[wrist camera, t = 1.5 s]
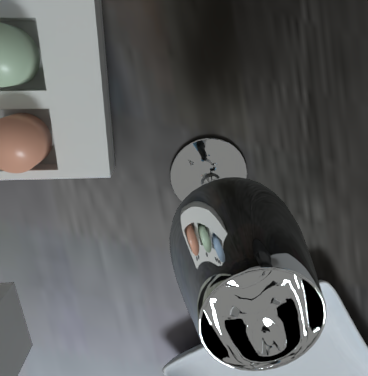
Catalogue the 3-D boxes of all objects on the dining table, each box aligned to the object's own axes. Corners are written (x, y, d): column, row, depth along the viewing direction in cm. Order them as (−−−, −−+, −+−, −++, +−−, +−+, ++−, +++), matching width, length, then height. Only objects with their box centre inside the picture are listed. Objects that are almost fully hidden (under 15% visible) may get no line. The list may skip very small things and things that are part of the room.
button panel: (-99, -89, 25) (-136, -111, 22) (93, -88, 25) (83, -108, 22) (-34, 170, 32) (-56, 182, 29) (115, 167, 32) (110, 178, 29)
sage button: (-24, 25, 25) (-46, 20, 23) (35, 24, 26) (20, 20, 23) (-12, 85, 27) (-31, 87, 24) (44, 84, 27) (30, 86, 24)
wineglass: (192, 121, 31) (229, 209, 12) (262, 158, 32) (393, 287, 14) (155, 191, 33) (139, 358, 14) (223, 223, 35) (287, 409, 16)
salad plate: (384, 373, 44) (401, 397, 41) (245, 440, 47) (250, 467, 44) (314, 259, 37) (328, 278, 34) (158, 346, 41) (157, 371, 37)
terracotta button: (-6, 113, 28) (-24, 118, 25) (48, 112, 28) (35, 117, 25) (4, 164, 29) (-12, 173, 27) (55, 163, 29) (44, 172, 27)
